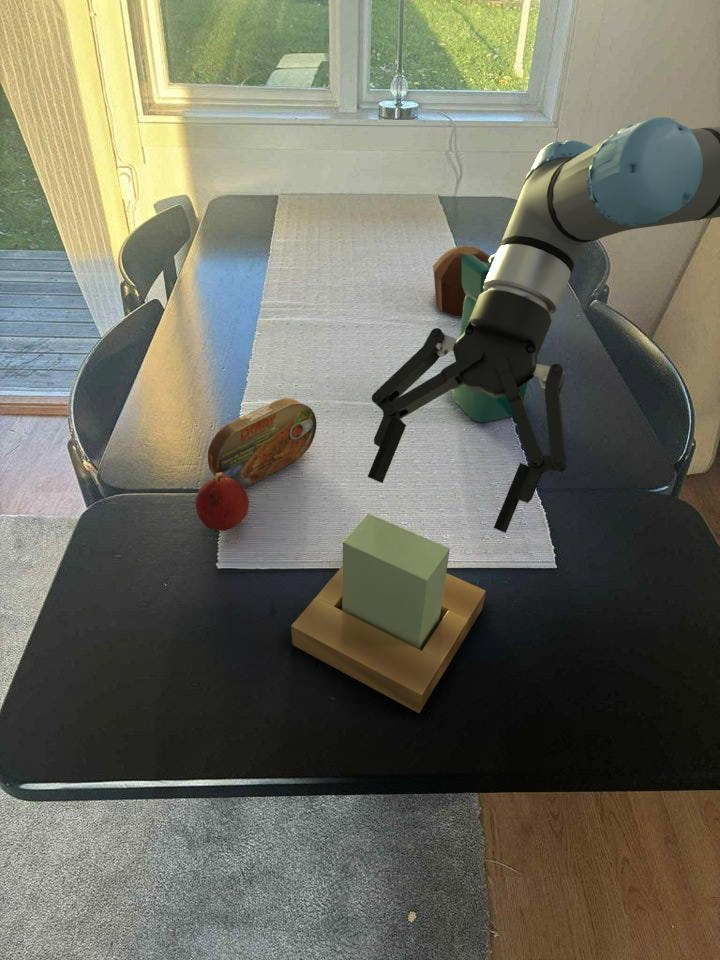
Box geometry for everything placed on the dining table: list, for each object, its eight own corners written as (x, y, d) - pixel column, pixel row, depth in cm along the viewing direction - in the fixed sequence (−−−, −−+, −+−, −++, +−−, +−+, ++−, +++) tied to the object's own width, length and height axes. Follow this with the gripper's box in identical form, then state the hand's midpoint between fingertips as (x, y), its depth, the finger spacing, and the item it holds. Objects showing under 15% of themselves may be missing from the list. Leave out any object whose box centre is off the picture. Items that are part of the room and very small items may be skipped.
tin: (222, 500, 84) (214, 445, 78) (208, 487, 86) (199, 432, 80) (319, 449, 92) (317, 395, 86) (303, 438, 94) (301, 385, 88)
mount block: (365, 556, 78) (366, 537, 76) (482, 609, 72) (486, 590, 70) (292, 645, 68) (290, 625, 66) (419, 713, 63) (421, 695, 61)
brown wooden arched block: (496, 322, 119) (505, 266, 113) (431, 320, 119) (437, 264, 113) (488, 291, 128) (496, 237, 122) (428, 289, 128) (433, 235, 122)
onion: (233, 552, 78) (225, 499, 72) (190, 536, 79) (179, 483, 74) (260, 519, 82) (255, 467, 76) (218, 504, 83) (210, 452, 78)
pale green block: (364, 596, 73) (368, 512, 65) (437, 631, 70) (450, 548, 62) (341, 625, 70) (342, 542, 62) (416, 663, 67) (427, 580, 59)
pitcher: (497, 383, 105) (521, 239, 90) (528, 414, 99) (560, 265, 85) (439, 396, 102) (455, 249, 87) (467, 428, 96) (489, 277, 82)
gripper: (644, 351, 67) (561, 555, 67) (415, 288, 77) (341, 467, 77) (646, 324, 60) (553, 551, 60) (394, 258, 70) (313, 454, 70)
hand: (434, 504), depth 68 cm, fingers open, 13 cm apart
